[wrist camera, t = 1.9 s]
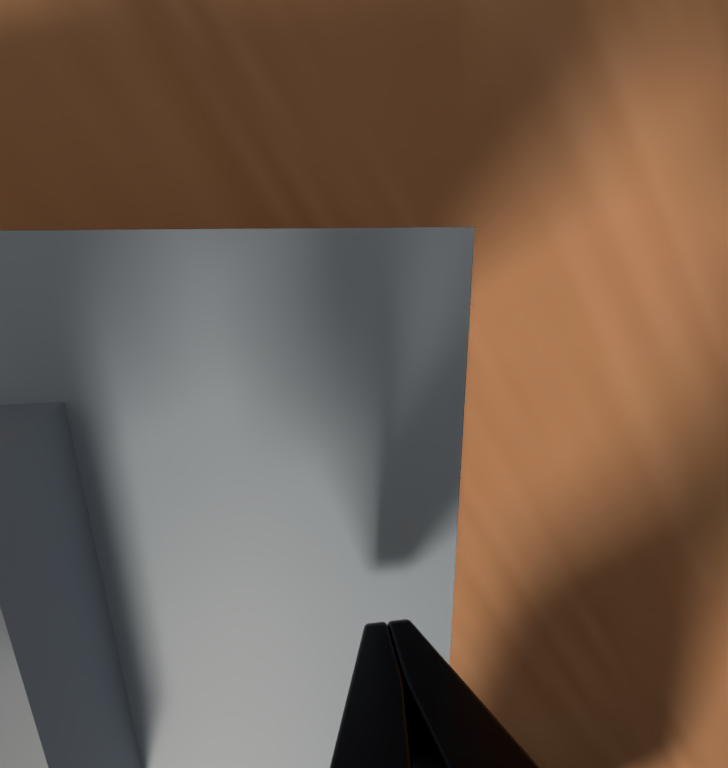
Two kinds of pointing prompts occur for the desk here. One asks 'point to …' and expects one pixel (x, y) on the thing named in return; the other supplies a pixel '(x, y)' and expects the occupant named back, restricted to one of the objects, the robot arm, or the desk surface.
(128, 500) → the lid
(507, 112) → the desk surface
